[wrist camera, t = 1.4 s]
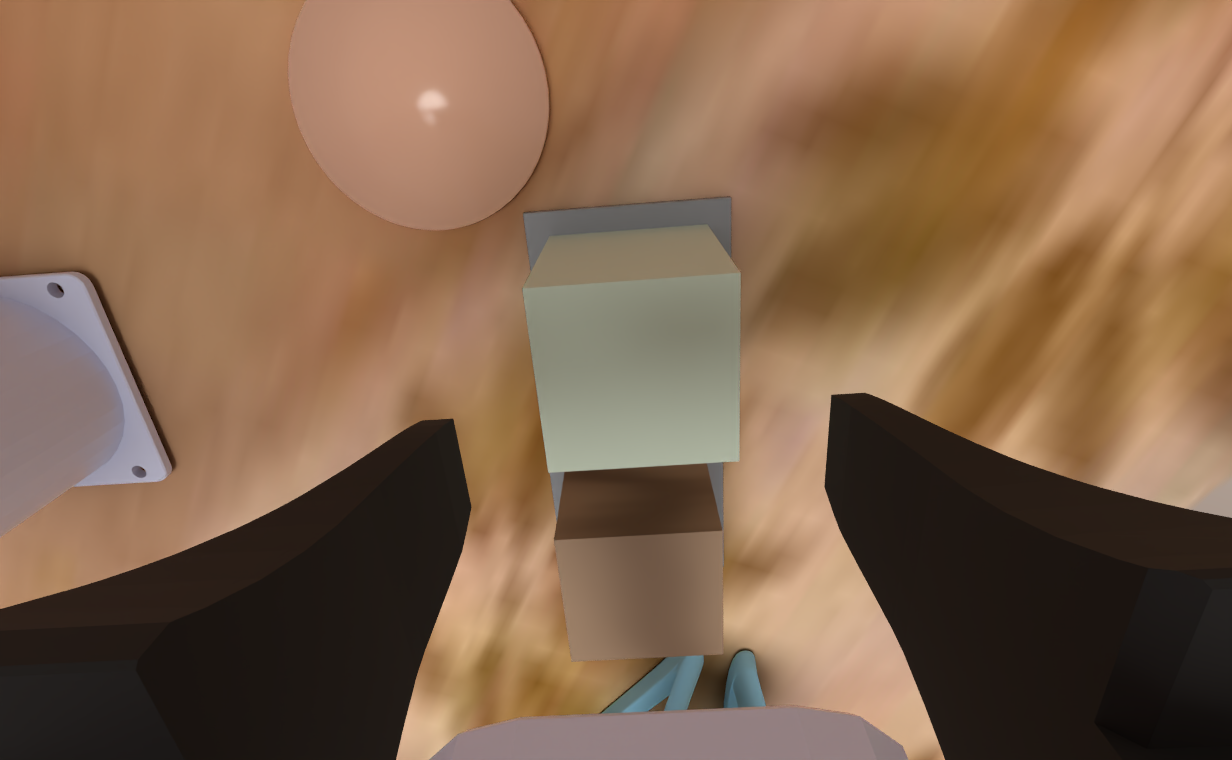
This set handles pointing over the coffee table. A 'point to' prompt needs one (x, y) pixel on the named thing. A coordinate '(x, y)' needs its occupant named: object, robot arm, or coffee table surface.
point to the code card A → (628, 220)
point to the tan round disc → (420, 104)
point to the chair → (691, 685)
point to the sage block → (636, 348)
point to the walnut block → (640, 563)
